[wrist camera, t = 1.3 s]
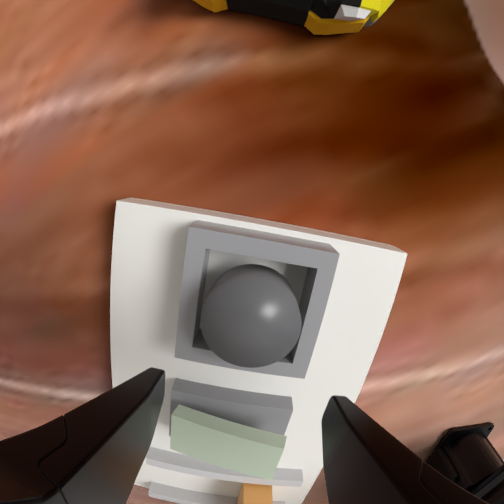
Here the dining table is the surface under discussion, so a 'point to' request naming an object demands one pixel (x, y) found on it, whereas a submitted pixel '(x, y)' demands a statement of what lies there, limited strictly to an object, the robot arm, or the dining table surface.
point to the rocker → (225, 442)
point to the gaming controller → (310, 12)
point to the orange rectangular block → (255, 494)
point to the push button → (251, 316)
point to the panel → (228, 375)
